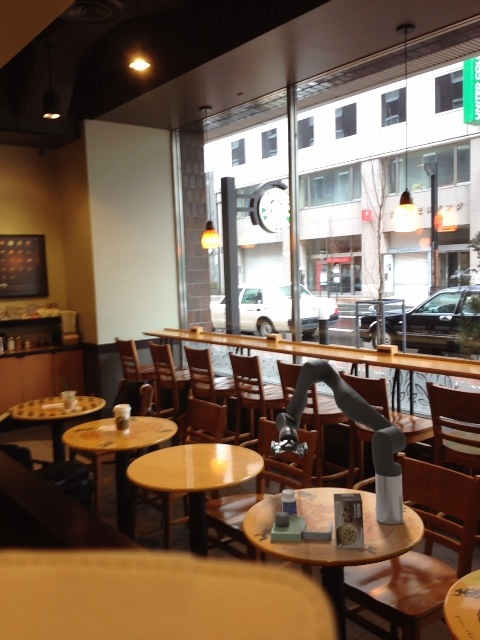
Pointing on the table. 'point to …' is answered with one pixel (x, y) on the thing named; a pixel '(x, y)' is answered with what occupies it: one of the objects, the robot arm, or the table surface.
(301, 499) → the table surface
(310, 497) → the table surface
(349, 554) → the table surface
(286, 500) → the pill bottle
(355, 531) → the coffee box
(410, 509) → the table surface
